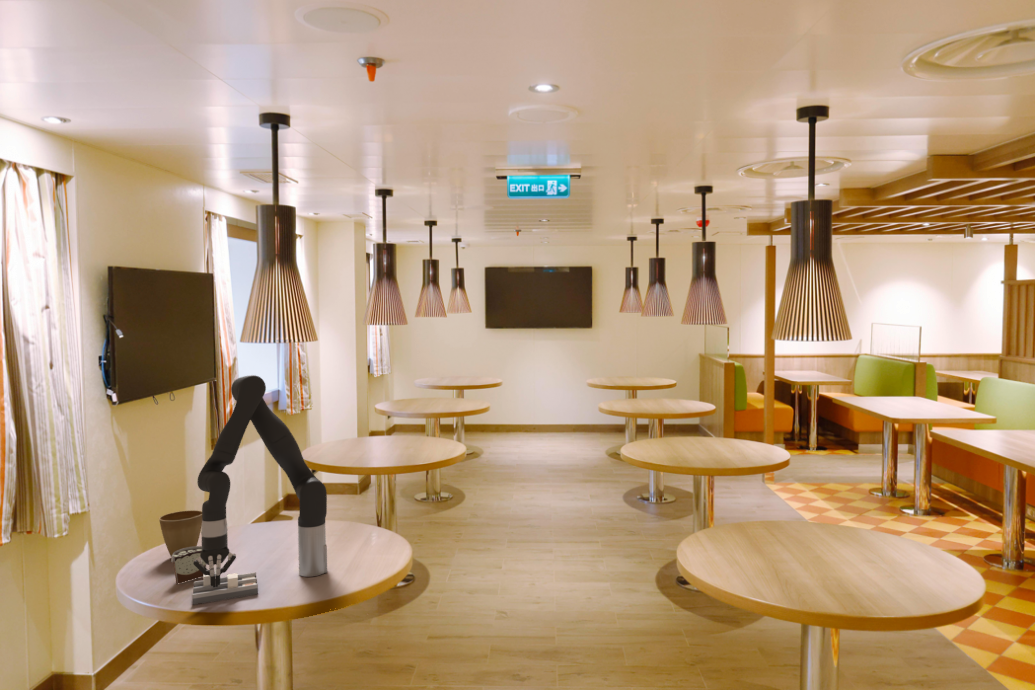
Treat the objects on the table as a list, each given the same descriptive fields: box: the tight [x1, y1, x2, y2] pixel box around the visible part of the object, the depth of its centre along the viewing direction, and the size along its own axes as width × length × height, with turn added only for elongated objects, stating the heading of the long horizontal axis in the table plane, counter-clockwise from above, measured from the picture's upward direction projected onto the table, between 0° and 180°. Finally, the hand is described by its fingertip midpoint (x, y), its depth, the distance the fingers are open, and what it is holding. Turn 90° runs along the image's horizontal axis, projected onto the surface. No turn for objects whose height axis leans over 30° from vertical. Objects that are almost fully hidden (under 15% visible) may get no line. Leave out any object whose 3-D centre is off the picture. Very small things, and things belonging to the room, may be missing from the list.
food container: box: [170, 545, 207, 585], centre depth 223 cm, size 12×6×10 cm, turn 141°
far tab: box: [202, 575, 211, 586], centre depth 210 cm, size 3×4×4 cm
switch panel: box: [191, 572, 259, 605], centre depth 210 cm, size 19×12×3 cm, turn 115°
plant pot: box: [158, 509, 202, 559], centre depth 245 cm, size 15×15×16 cm
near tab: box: [226, 572, 239, 588], centre depth 208 cm, size 3×4×4 cm
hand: (215, 586), depth 206 cm, fingers closed
